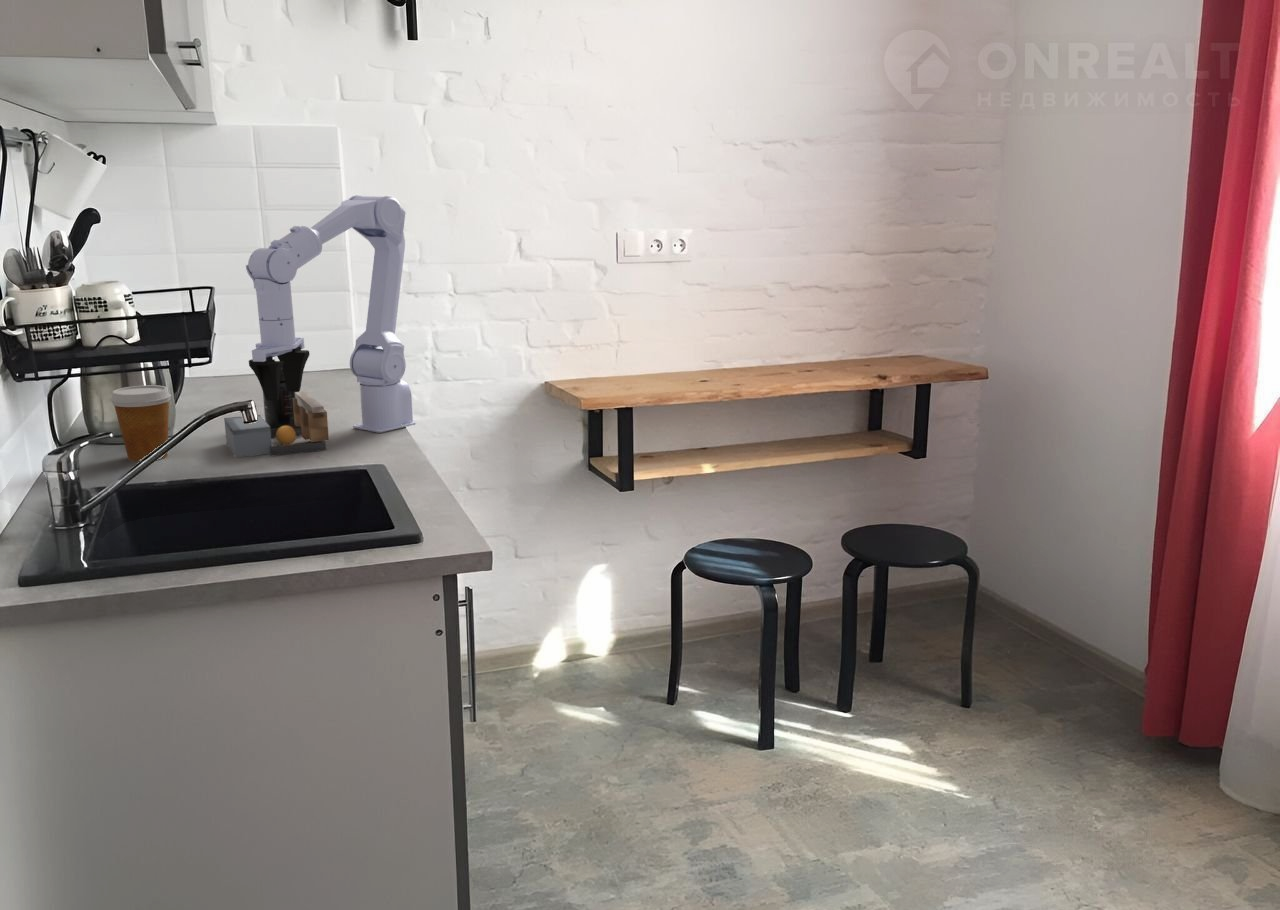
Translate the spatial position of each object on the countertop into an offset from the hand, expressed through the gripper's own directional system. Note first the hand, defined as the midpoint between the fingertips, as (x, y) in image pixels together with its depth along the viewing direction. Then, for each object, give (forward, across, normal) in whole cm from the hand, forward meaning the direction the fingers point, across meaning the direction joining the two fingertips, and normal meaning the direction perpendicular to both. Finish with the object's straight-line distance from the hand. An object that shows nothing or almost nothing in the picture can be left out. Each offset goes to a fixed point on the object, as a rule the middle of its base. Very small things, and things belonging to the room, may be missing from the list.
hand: (283, 395), depth 190 cm
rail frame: (+10, -5, -2) cm, 11 cm away
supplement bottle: (+10, -18, -10) cm, 23 cm away
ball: (+8, -4, -3) cm, 10 cm away
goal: (+10, 0, -7) cm, 12 cm away
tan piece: (+10, -7, +1) cm, 12 cm away
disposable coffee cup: (+10, +9, -22) cm, 26 cm away
